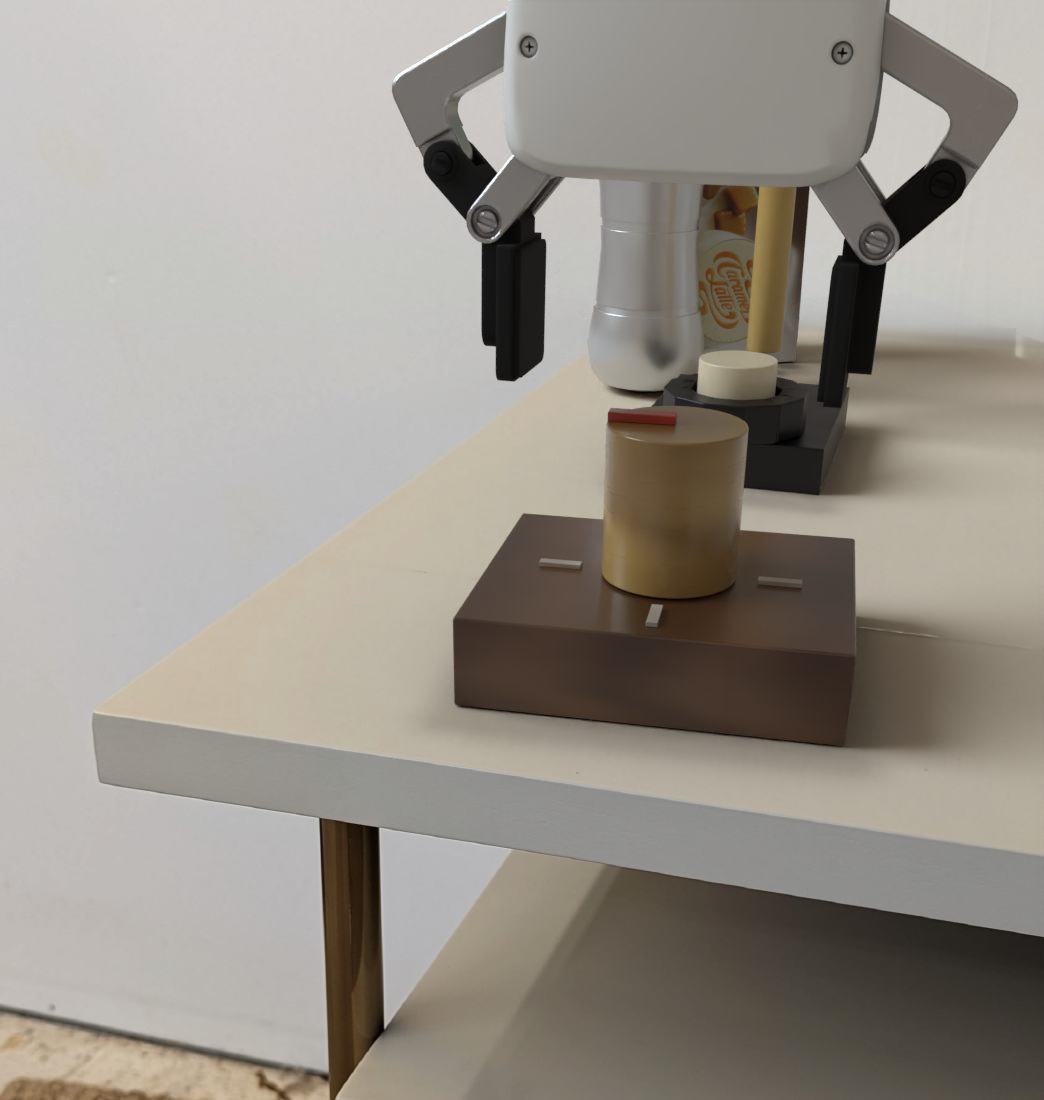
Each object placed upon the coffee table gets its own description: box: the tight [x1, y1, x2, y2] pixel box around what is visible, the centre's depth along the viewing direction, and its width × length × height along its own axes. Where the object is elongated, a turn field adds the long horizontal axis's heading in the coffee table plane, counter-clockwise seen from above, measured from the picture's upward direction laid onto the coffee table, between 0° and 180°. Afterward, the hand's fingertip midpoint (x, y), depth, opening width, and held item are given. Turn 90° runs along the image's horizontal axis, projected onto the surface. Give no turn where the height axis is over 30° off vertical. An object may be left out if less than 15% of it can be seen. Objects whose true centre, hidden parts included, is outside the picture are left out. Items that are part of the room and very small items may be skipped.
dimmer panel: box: [452, 512, 857, 747], centre depth 44 cm, size 12×10×3 cm
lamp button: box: [697, 350, 779, 400], centre depth 62 cm, size 4×4×2 cm
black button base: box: [650, 373, 851, 496], centre depth 65 cm, size 13×9×4 cm
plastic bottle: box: [587, 180, 704, 393], centre depth 73 cm, size 6×7×20 cm
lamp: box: [746, 187, 796, 353], centre depth 65 cm, size 6×6×20 cm
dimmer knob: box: [601, 406, 749, 599], centre depth 42 cm, size 4×4×5 cm
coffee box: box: [698, 184, 811, 363], centre depth 82 cm, size 9×6×16 cm
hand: (672, 384), depth 41 cm, fingers open, 9 cm apart
